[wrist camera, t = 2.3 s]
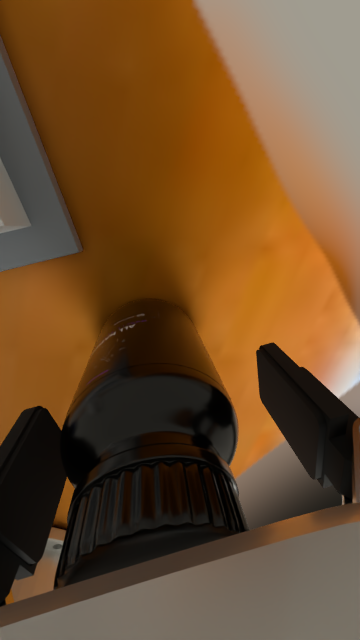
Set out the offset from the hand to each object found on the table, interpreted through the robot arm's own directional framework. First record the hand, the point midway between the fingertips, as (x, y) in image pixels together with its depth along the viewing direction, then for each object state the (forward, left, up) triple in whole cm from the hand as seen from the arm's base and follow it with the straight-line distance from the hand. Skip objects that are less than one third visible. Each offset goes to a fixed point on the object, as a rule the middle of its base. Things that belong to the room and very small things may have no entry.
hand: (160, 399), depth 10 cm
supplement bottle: (-1, +1, -7) cm, 7 cm away
